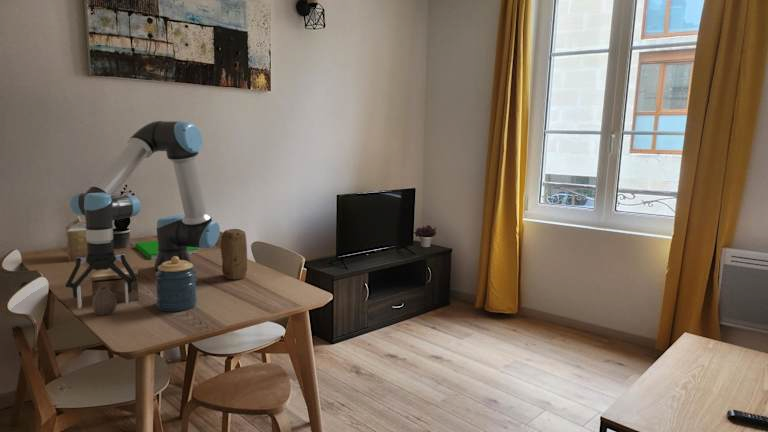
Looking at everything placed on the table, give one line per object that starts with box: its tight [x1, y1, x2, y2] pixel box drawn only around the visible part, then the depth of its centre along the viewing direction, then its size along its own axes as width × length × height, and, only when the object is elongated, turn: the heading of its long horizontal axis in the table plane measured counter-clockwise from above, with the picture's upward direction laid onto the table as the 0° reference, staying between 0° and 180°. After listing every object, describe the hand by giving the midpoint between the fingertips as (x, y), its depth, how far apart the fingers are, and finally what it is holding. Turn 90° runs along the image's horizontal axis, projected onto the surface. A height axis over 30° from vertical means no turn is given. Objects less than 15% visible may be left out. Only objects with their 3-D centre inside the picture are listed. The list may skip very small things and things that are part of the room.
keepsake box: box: [91, 276, 140, 304], centre depth 181 cm, size 14×12×8 cm
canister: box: [154, 256, 198, 313], centre depth 173 cm, size 13×13×18 cm
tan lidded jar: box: [65, 215, 88, 263], centre depth 231 cm, size 11×11×19 cm
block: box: [220, 228, 248, 281], centre depth 208 cm, size 11×8×20 cm
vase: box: [92, 287, 117, 316], centre depth 165 cm, size 7×7×9 cm
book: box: [134, 240, 199, 261], centre depth 251 cm, size 22×28×3 cm
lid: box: [90, 266, 139, 282], centre depth 180 cm, size 14×12×1 cm
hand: (104, 304), depth 165 cm, fingers open, 13 cm apart
